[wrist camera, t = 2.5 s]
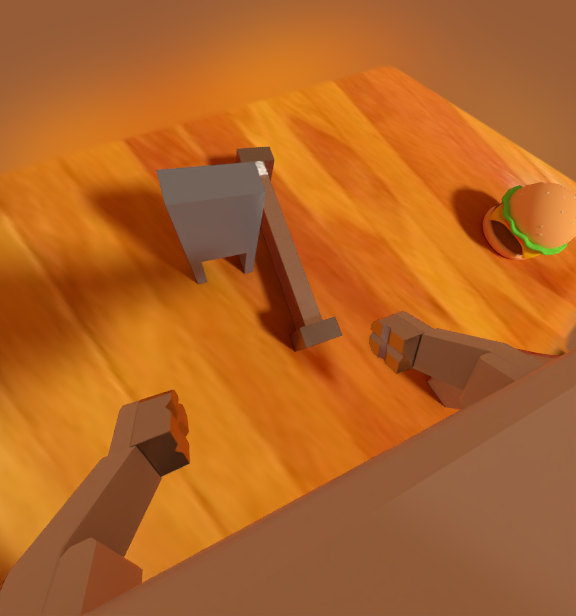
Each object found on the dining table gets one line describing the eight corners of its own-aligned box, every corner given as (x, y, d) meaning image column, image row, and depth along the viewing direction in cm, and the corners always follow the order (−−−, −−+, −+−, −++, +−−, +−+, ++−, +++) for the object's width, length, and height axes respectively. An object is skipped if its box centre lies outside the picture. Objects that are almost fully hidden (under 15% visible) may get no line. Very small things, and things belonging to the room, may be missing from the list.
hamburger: (461, 221, 38) (522, 180, 30) (498, 196, 42) (560, 154, 34) (509, 280, 37) (586, 253, 29) (542, 248, 41) (618, 218, 33)
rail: (325, 341, 28) (342, 335, 23) (295, 351, 26) (306, 347, 22) (264, 176, 32) (269, 146, 28) (236, 179, 31) (236, 148, 27)
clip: (198, 284, 26) (165, 205, 14) (192, 263, 27) (156, 170, 14) (252, 271, 28) (266, 192, 16) (246, 252, 29) (254, 161, 16)
